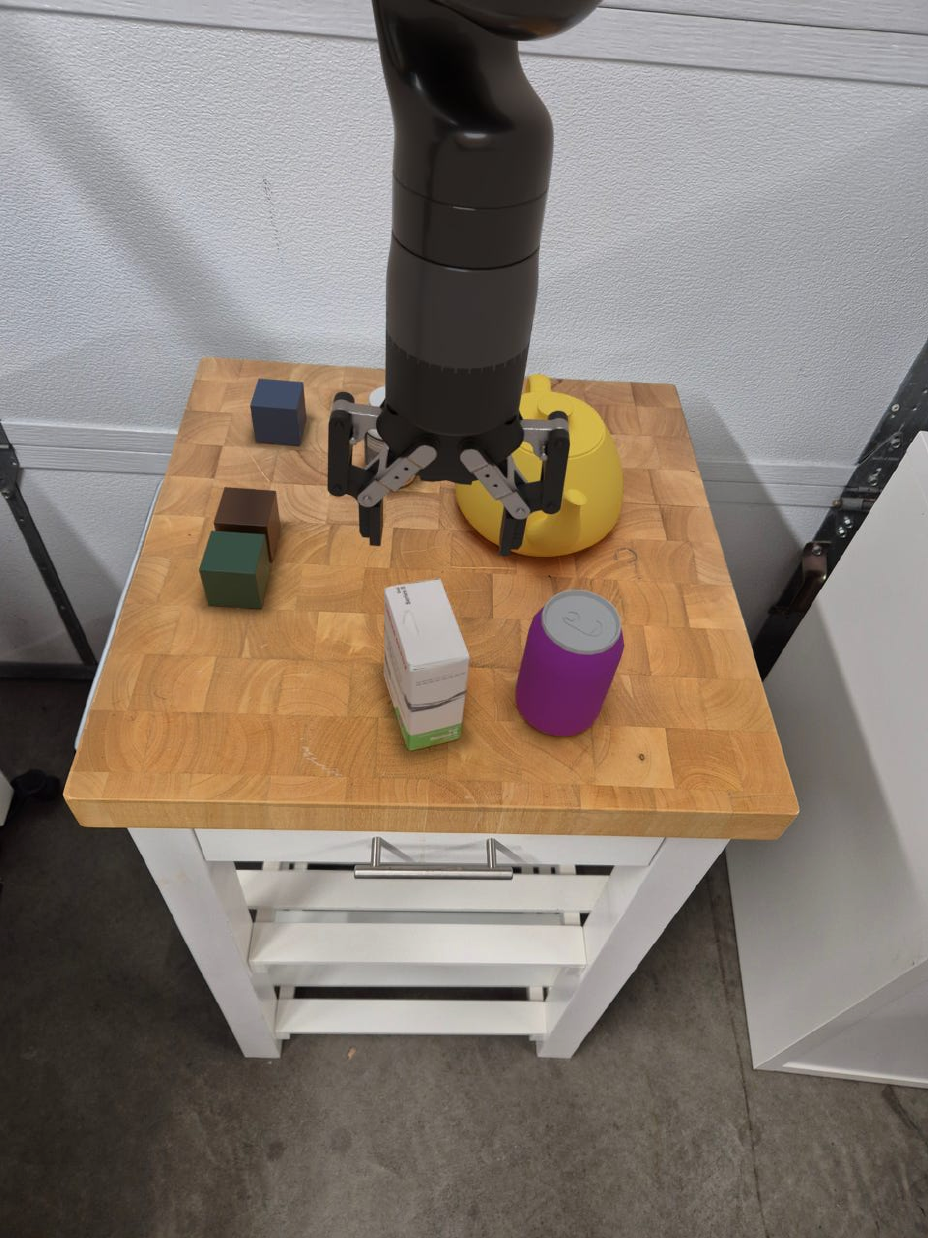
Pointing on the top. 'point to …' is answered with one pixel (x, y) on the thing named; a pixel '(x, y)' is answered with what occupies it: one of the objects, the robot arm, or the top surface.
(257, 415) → the slate block
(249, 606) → the green block
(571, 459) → the teapot
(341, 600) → the top surface
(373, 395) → the pill bottle
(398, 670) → the ink box
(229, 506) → the walnut block
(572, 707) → the beverage can
